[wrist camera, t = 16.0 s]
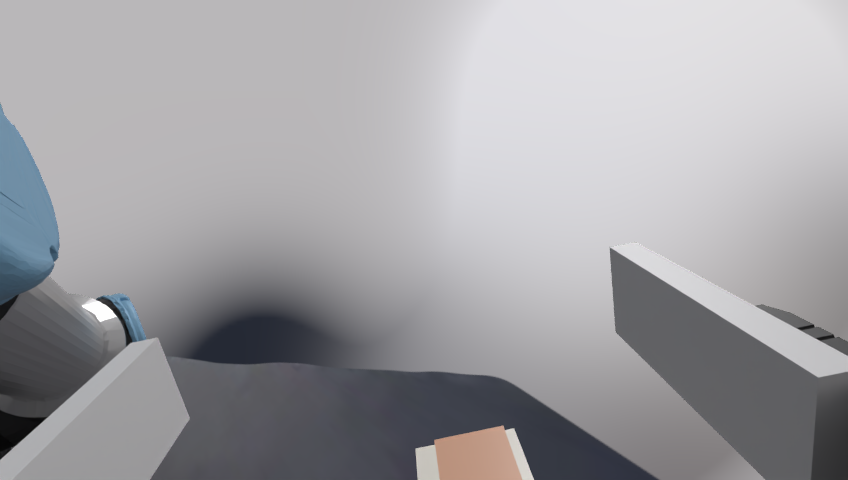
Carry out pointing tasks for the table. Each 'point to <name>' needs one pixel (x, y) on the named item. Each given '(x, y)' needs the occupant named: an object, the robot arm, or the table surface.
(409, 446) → the table surface
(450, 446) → the plug
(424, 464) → the white square base
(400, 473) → the table surface
